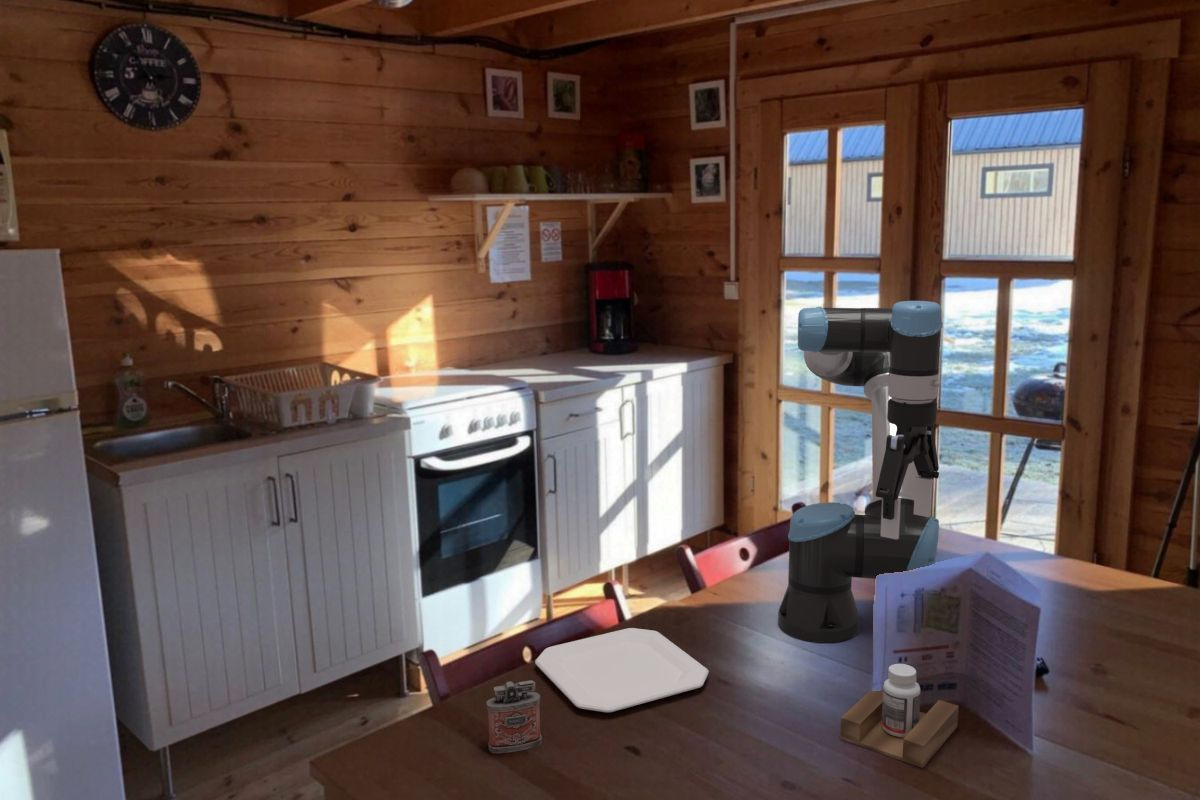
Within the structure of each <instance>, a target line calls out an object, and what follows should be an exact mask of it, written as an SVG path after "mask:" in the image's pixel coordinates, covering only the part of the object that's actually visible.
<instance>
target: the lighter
mask: <svg viewBox="0 0 1200 800" xmlns="http://www.w3.org/2000/svg"><path fill="white" fill-rule="evenodd" d="M493 694H494V697H491V698H490V699H488V700H487V701H486V709H487V718H488V737H489V741H488V742H487V744H488V751H489V752H490V753H492V754H503V753H505V754H506V753H513V752H519V751H524V750H529V749H531V748H535V747H538V746H540V745H541V744H542V742H543V741H542V739H543V738H542V734H541V719H540V717H541V716H540V703H541V695H540V694H539V693H538V692H536V682H535V681H534V680H526V681H519V682H517V683H514V682H513V681H507V682H505V684H504V685H500V686H495V687H493Z"/></svg>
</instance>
